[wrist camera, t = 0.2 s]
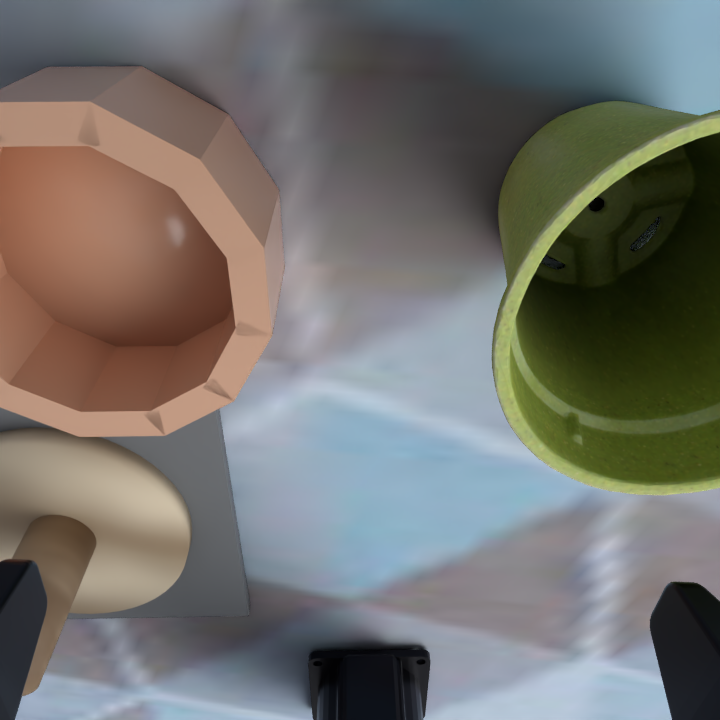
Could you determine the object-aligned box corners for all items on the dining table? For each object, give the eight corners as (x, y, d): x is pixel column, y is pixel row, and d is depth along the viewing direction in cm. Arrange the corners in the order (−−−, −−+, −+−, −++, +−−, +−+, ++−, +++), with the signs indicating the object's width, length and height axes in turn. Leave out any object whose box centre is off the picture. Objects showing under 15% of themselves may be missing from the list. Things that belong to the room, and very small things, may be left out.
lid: (207, 593, 31) (174, 748, 25) (-12, 597, 31) (-95, 752, 25) (171, 425, 25) (117, 575, 19) (-98, 428, 25) (-234, 580, 19)
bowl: (291, 355, 24) (281, 434, 20) (21, 358, 24) (-38, 438, 20) (269, 65, 19) (250, 100, 15) (-82, 67, 18) (-191, 103, 15)
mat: (250, 605, 32) (248, 616, 32) (-31, 610, 32) (-37, 620, 32) (214, 378, 25) (211, 387, 24) (-157, 382, 24) (-167, 392, 24)
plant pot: (391, 253, 22) (413, 413, 15) (565, -33, 17) (719, -4, 10) (605, 359, 25) (713, 539, 17) (806, 134, 20) (1064, 252, 13)
